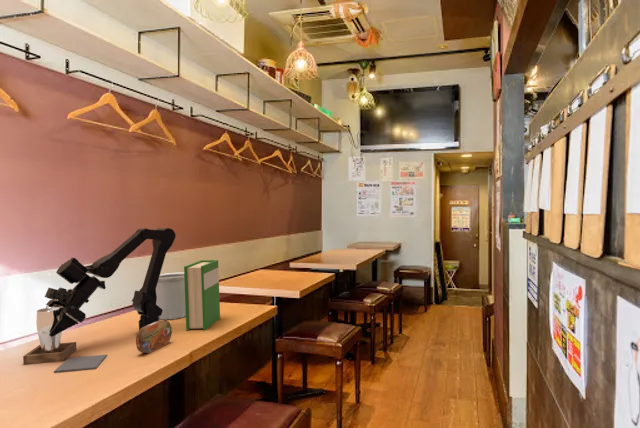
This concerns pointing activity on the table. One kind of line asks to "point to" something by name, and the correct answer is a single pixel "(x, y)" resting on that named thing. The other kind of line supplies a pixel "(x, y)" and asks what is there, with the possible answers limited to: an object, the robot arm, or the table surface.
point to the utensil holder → (171, 295)
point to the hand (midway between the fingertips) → (45, 333)
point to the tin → (153, 336)
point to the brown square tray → (49, 354)
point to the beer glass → (48, 329)
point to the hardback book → (202, 294)
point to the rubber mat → (81, 363)
